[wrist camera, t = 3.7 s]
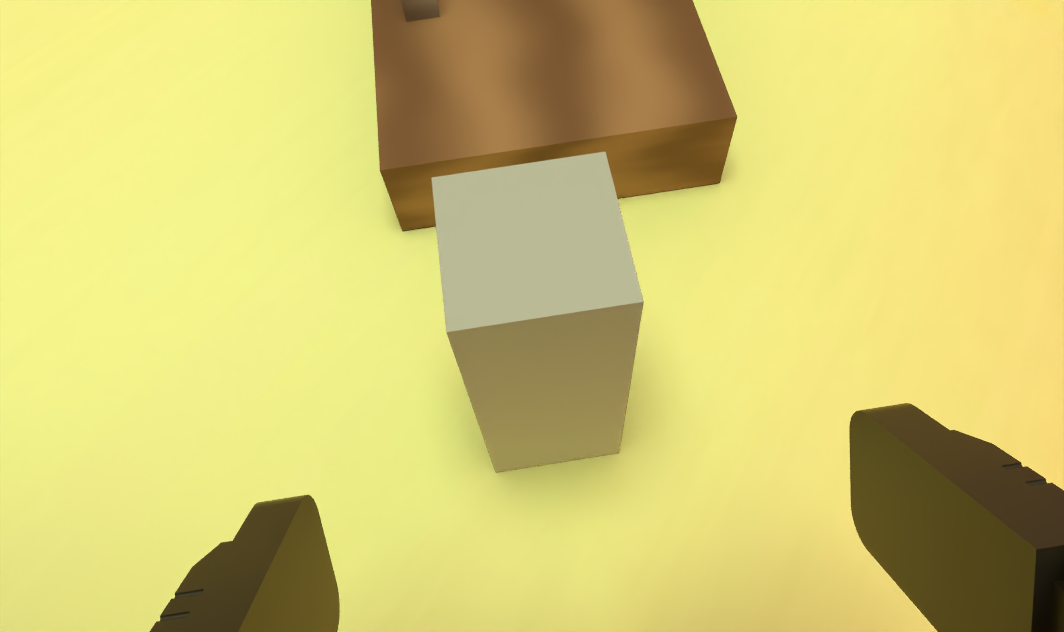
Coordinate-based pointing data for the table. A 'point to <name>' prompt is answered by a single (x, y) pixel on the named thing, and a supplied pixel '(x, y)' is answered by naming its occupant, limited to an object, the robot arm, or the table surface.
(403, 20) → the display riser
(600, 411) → the slate post
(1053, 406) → the table surface
